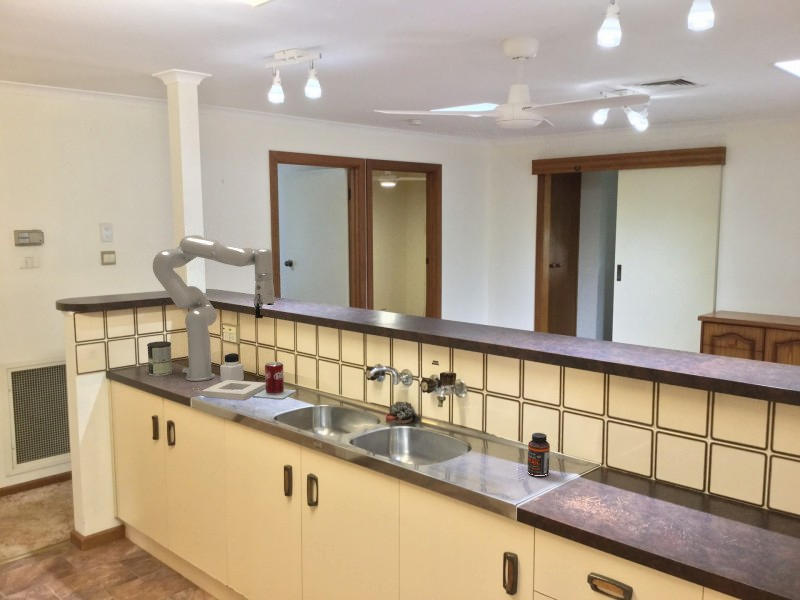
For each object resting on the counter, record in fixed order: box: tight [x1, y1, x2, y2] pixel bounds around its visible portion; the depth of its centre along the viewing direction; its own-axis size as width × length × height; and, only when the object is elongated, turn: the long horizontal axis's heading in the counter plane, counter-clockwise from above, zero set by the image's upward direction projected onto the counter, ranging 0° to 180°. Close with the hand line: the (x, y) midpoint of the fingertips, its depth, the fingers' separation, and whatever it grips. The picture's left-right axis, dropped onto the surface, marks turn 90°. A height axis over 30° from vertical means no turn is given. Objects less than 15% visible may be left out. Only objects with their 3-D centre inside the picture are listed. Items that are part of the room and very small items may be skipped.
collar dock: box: [201, 380, 266, 401], centre depth 277 cm, size 19×19×2 cm
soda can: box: [264, 361, 285, 395], centre depth 273 cm, size 7×7×12 cm
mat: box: [252, 388, 298, 401], centre depth 274 cm, size 13×13×1 cm
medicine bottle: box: [219, 352, 245, 382], centre depth 297 cm, size 7×7×12 cm
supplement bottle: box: [526, 432, 551, 475], centre depth 188 cm, size 6×6×11 cm
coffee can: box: [146, 340, 173, 377], centre depth 311 cm, size 10×10×14 cm
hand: (264, 316), depth 295 cm, fingers open, 9 cm apart
